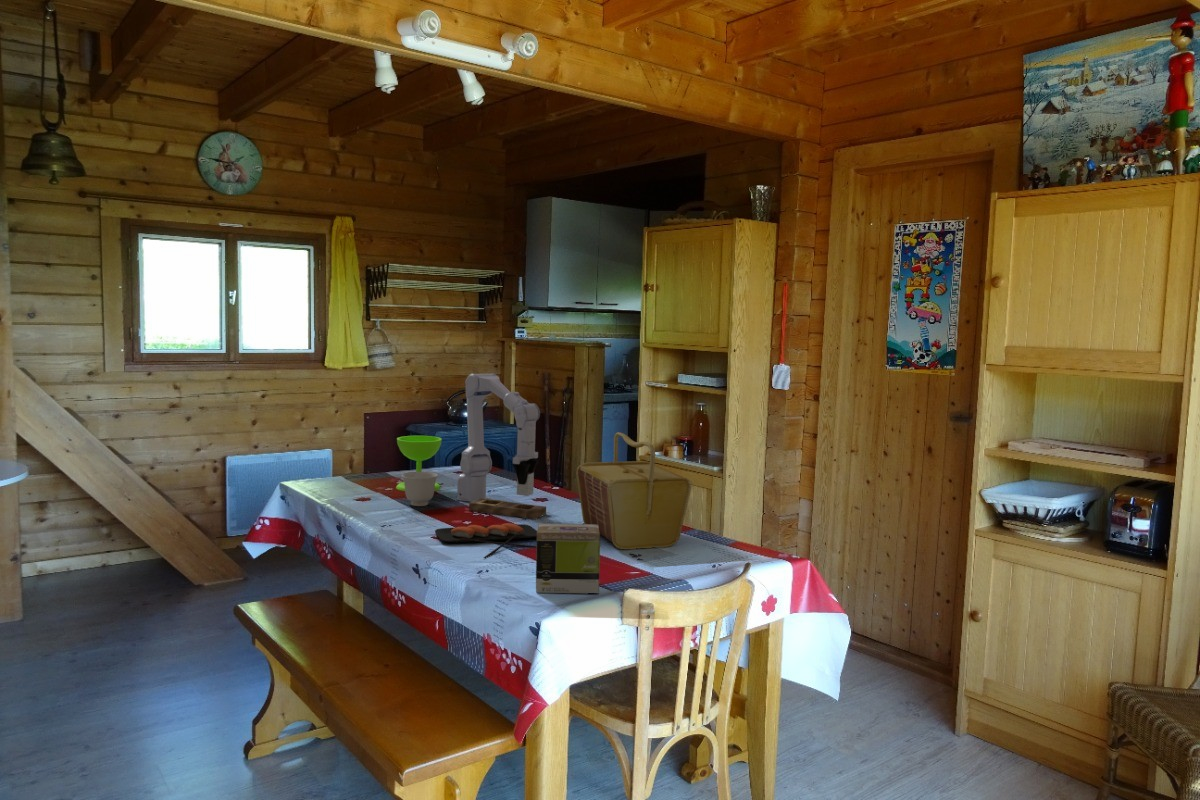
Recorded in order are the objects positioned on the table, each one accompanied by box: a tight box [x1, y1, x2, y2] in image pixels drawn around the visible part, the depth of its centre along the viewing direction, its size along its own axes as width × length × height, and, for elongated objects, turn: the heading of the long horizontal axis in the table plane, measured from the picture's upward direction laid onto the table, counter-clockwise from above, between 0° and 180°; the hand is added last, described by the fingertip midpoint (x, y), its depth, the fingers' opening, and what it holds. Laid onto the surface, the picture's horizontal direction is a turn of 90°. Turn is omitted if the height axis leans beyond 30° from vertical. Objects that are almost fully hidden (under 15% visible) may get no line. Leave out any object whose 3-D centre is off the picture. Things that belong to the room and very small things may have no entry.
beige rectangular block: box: [516, 471, 535, 497], centre depth 280 cm, size 4×4×7 cm
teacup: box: [401, 471, 439, 507], centre depth 290 cm, size 12×15×10 cm
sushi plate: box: [434, 522, 537, 559], centre depth 244 cm, size 29×30×4 cm
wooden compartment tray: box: [468, 498, 547, 520], centre depth 283 cm, size 24×8×3 cm, turn 69°
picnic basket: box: [575, 431, 692, 550], centre depth 255 cm, size 29×26×30 cm
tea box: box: [535, 523, 601, 594], centre depth 207 cm, size 15×10×15 cm
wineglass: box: [395, 435, 443, 492], centre depth 316 cm, size 16×16×18 cm
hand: (524, 483), depth 280 cm, fingers closed on beige rectangular block, 4 cm apart
